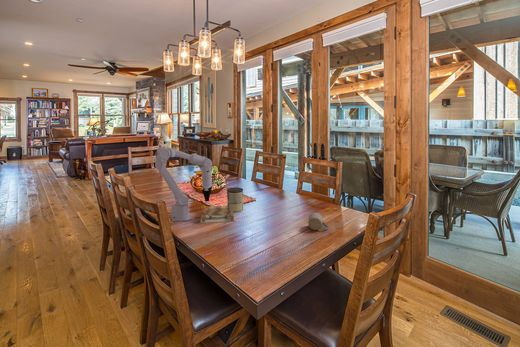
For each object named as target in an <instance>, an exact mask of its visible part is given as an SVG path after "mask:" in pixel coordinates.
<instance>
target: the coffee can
mask: <svg viewBox="0 0 520 347" xmlns="http://www.w3.org/2000/svg"><path fill="white" fill-rule="evenodd" d="M226 193H227V194H226V199H227V200H226V201H227V206H228V213H230V210H233V214H237V213H242V212H243V211H244V189H243V188H242V187H238V186H237V187H229V188H227V189H226Z"/></svg>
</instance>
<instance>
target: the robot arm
mask: <svg viewBox="0 0 520 347" xmlns="http://www.w3.org/2000/svg"><path fill="white" fill-rule="evenodd" d="M154 156H155V157H154V158H155V159H154V161H155V162H154V165H155V168H156V170H157V171H158V172H159V174H160V175H161V177H162V178H163V180H164V182H165V183H166V184H167V186H168V188H169V189H170V191H171V193H173V196H174V199H175V201H176V202H175V204H171V221H172V222H183V221H187V222H188V221H189V219H190V217H191V215H189V197H188V196H187V195H186V194H185V192H183V191H182V190H181V188H180V186H179V185H178V183H177V182H176V181H175V179H174V177H173V176H172V174H171V173H170V171H169V170H168V168H167V167H166V164H167V161H168V160H169V158H174V157H177V158H181V159H184V160H188V163H189V164H192V165H196V166H199V167H201V187H202V188H203V189H201V193H202V194H203V198H204V201H205V202H210V198H211V192H212V188H213V187H214V183H213V182H212V179H213V178H212V166H213V162H212V160H211V159H210V158H208V157H206V156H205V155H199V154H198V153H196V152H194V153H191V154H189V153H186V152H184V151H181V150H177V149H174V148H170V147H167V148H166V147H165V146H160V147H158V148H157V150H156V151H155V154H154Z"/></svg>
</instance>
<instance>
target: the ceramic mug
mask: <svg viewBox="0 0 520 347" xmlns="http://www.w3.org/2000/svg"><path fill="white" fill-rule="evenodd" d="M308 216H309V217H308V226H309V228H310V229H311V230H312V231H319V230H320V229H322V230H324V231H327V230H329V225H328V224H327V223H326V222H324V220H323V216H322V214H320V213H319V212H312V213H310V215H308Z"/></svg>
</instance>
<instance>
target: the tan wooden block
mask: <svg viewBox="0 0 520 347" xmlns="http://www.w3.org/2000/svg"><path fill="white" fill-rule="evenodd" d="M206 210H207V215H208V216H223V215H228V214H229V212H228V205H216V206H213V205H212V206H211V205H210V206H207V209H206Z"/></svg>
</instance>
